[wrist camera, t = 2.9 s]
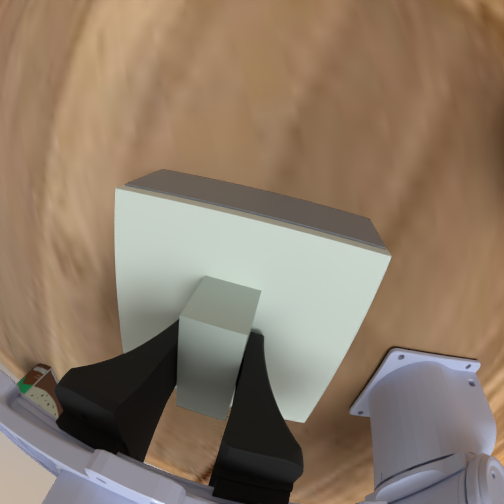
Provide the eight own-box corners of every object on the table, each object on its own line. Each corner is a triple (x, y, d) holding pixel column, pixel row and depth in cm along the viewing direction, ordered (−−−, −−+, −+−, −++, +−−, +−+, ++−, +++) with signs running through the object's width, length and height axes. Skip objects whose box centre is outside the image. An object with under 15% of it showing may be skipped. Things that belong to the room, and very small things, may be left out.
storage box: (369, 218, 15) (386, 247, 12) (307, 370, 21) (304, 412, 17) (162, 169, 16) (125, 183, 13) (155, 326, 22) (131, 361, 18)
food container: (20, 343, 30) (-22, 386, 21) (47, 359, 29) (4, 410, 20) (47, 396, 35) (17, 436, 26) (74, 412, 34) (44, 457, 25)
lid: (386, 246, 12) (412, 296, 8) (305, 411, 17) (300, 462, 13) (127, 183, 13) (71, 207, 9) (132, 359, 18) (104, 401, 14)
